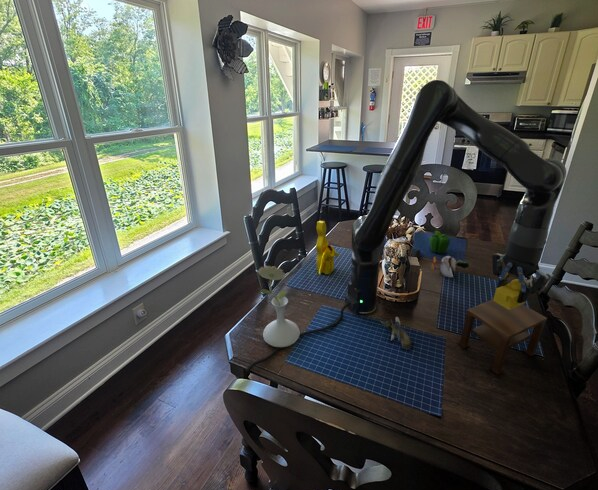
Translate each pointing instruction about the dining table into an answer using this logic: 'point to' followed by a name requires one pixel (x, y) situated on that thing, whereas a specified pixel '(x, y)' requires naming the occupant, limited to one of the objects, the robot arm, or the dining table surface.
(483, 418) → the dining table surface
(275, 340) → the flower in vase
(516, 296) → the rubber duck
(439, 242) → the bell pepper
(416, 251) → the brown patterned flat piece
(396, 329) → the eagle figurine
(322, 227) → the figure statuette
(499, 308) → the wooden side table
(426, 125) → the robot arm
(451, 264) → the decorative duck model
